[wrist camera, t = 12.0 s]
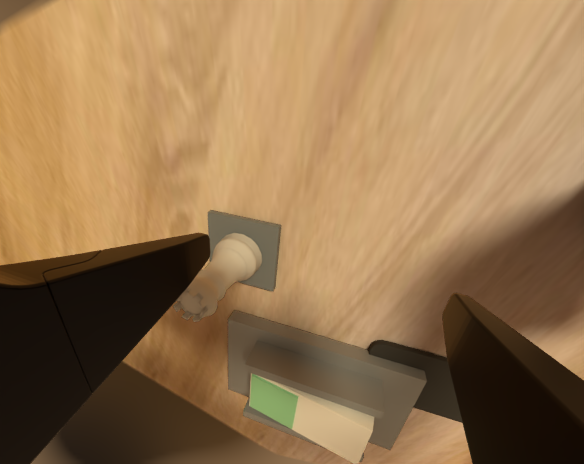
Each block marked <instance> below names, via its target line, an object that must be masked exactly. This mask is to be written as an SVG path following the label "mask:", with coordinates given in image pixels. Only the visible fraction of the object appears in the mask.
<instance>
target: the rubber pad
mask: <svg viewBox="0 0 584 464" xmlns="http://www.w3.org/2000/svg"><path fill="white" fill-rule="evenodd" d="M208 230H209V238H210V251H211V253H210V261H211V260H212V256H213V252H214V249H215V247H216V245H217V244H218V243H219V242H220V241H221V240H222V239H223V238H224V237H225V236H226V235H228V234H232V233H238V234H243V235H245V236H247V237H249V238H251V239H252V240H253V241H254V242H255V243H256V244H257V245H258V247H259V250H260V252H261V254H262V263H261V266H260V268H259V270H257V271H256V272H255V274H254V275H252V276H251V277H250V278H248V279H247V280H242V281H239V282H240V283H243V284H247V285H251V286H254V287H258V288H262V289H265V290H269V291H274V289H275V285H276V275H277V264H278V254H279V243H280V233H281V225H278V224H274V223H269V222H264V221H260V220H255V219H250V218H246V217H241V216H236V215H232V214H227V213H222V212H218V211H213V210H211V211H209V212H208Z"/></svg>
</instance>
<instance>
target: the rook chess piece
mask: <svg viewBox="0 0 584 464" xmlns="http://www.w3.org/2000/svg"><path fill="white" fill-rule="evenodd" d="M261 263H262V254H261V252H260V250H259V247H258V245H257V244H256V243H255V242H254V241H253V240H252V239H251V238H249V237H247V236H245V235H243V234H238V233H232V234H228V235H226V236H225V237H224V238H223V239H222V240H221V241H220V242H219V243H218V244H217V245H216V247H215V249H214V252H213V256H212V260H211V261H210V263H209V264H208V265H207V266H206V268H205V269H204V270H200V271H199V273H198V274H197V276H196V277H195V278H194V280H193V281H192V282H191V284H190V285H189V286H188V288H187V289H186V290H185V291H184V292H183V293H182V294H181V296H180V297H179V298H178V299H177V300H176V301H177V303H176V304H175V305H174V306H173V307H174V309H175V310H176V312H178V311H179V310H180V309H181V308H182V309H183V310H184V311H185V313H184V314H183V316H182V318H184V319H186V320H189V318H190V317H191V316H194V318H193V321H194V322H198V321H200V320H201V319H202V318H204V317H206V316H211V315H212V314H214V313H215V312H216V309H217V307H218V305H217V301H219V300H221V299H222V298H224V296H225V293H226V290H227V289H228V288H229V287H230V286H231V285H232V284H234V283H235V282H239V281H242V280H247V279H248V278H250V277H251V276H252V275H254V274H255V272H256V271H257V270H259V268H260V266H261ZM176 301H175V302H176Z"/></svg>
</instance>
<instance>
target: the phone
mask: <svg viewBox="0 0 584 464" xmlns="http://www.w3.org/2000/svg"><path fill="white" fill-rule="evenodd" d="M369 355H373V356H376V357H379V358H383V359H386V360H390V361H393V362H396V363H400V364H403V365H406V366H410V367H413V368H417V369H420V370H423V371H425V375H426V380H427V382H426V384H425V386H424V388H423V390H422V391H421V393H420V395H419V397H418V399H417V401H416V403H415V405H414V408H417V409H420V410H424V411H427V412H430V413H433V414H436V415H439V416H443V417H446V418H449V419H452V420H455V421H458V422H462V418H461V414H460V410H459V406H458V402H457V398H456V394H455V390H454V386H453V382H452V378H451V374H450V370H449V365H448V360H447V358H446V357H442V356H439V355H435V354H433V353H429V352H425V351H422V350H418V349H414V348H410V347H406V346H403V345H399V344H396V343H392V342H388V341H384V340H377V341H374V342H373V343H372V344H371V345H370V347H369ZM462 423H463V422H462Z"/></svg>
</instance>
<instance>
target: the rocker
mask: <svg viewBox="0 0 584 464" xmlns="http://www.w3.org/2000/svg"><path fill="white" fill-rule="evenodd" d="M249 406H250V407H252V408H254V409H256V410H258V411H259V412H261V413H263V414H265V415H267V416H268V417H270V418H272V419H274V420H276V421H277V422H279V423H281V424H283V425H285V426H286V427H288V428H290V429H292V430H294V431H295V432H297V433H299V434H301V435H303V436H304V437H306V438H308V439H310V440H312V441H313V442H315V443H317V444H319V445H321V446H323V447H324V448H326V449H328V450H330V451H332V452H333V453H335V454H337V455H339V456H341V457H342V458H344V459H346V460H348V461H350V462H351V463H353V464H358V463H359V461H360V459H361V457H362V454H363V452H364V450H365V448H366V445H367V443H368V441H369V439H370V436H371V434H372V432H373V425H374V417H373V416H370V415H367V414H365V413H362V412H359V411H356V410H353V409H350V408H348V407H345V406H342V405H339V404H336V403H334V402H331V401H328V400H325V399H322V398H319V397H317V396H314V395H311V394H308V393H305V392H302V391H300V390H297V389H294V388H291V387H288V386H285V385H283V384H280V383H277V382H274V381H271V380H269V379H266V378H263V377H260V376H257V375H254V374H252V373H251V381H250V400H249Z"/></svg>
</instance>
